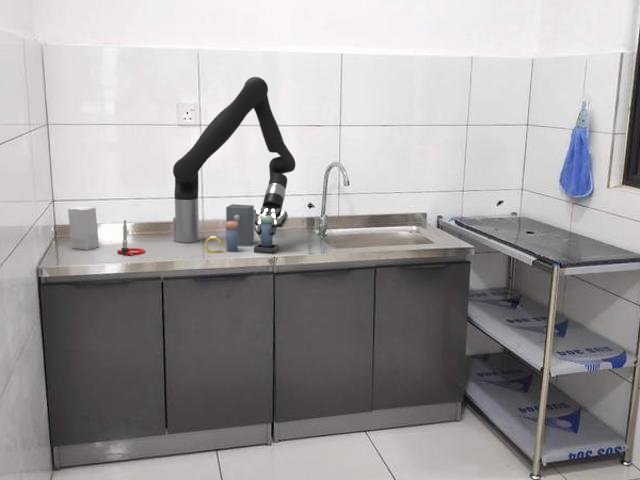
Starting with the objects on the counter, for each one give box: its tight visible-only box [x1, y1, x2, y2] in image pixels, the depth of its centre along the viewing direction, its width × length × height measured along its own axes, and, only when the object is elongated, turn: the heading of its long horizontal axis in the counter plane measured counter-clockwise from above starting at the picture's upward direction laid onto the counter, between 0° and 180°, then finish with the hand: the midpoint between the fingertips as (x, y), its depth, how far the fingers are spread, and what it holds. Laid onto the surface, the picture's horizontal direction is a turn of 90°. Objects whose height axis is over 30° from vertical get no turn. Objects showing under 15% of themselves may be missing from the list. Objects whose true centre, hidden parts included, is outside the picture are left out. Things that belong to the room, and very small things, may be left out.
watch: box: [204, 235, 222, 253], centre depth 249 cm, size 6×3×6 cm, turn 92°
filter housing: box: [225, 203, 255, 247], centre depth 263 cm, size 9×8×15 cm
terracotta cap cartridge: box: [224, 221, 239, 253], centre depth 251 cm, size 5×5×11 cm
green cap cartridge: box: [259, 215, 274, 246], centre depth 251 cm, size 5×5×11 cm
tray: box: [253, 243, 280, 255], centre depth 252 cm, size 8×7×2 cm
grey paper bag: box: [67, 205, 100, 251], centre depth 251 cm, size 8×7×16 cm
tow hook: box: [116, 219, 146, 257], centre depth 245 cm, size 8×13×9 cm
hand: (265, 234), depth 249 cm, fingers closed on green cap cartridge, 4 cm apart
